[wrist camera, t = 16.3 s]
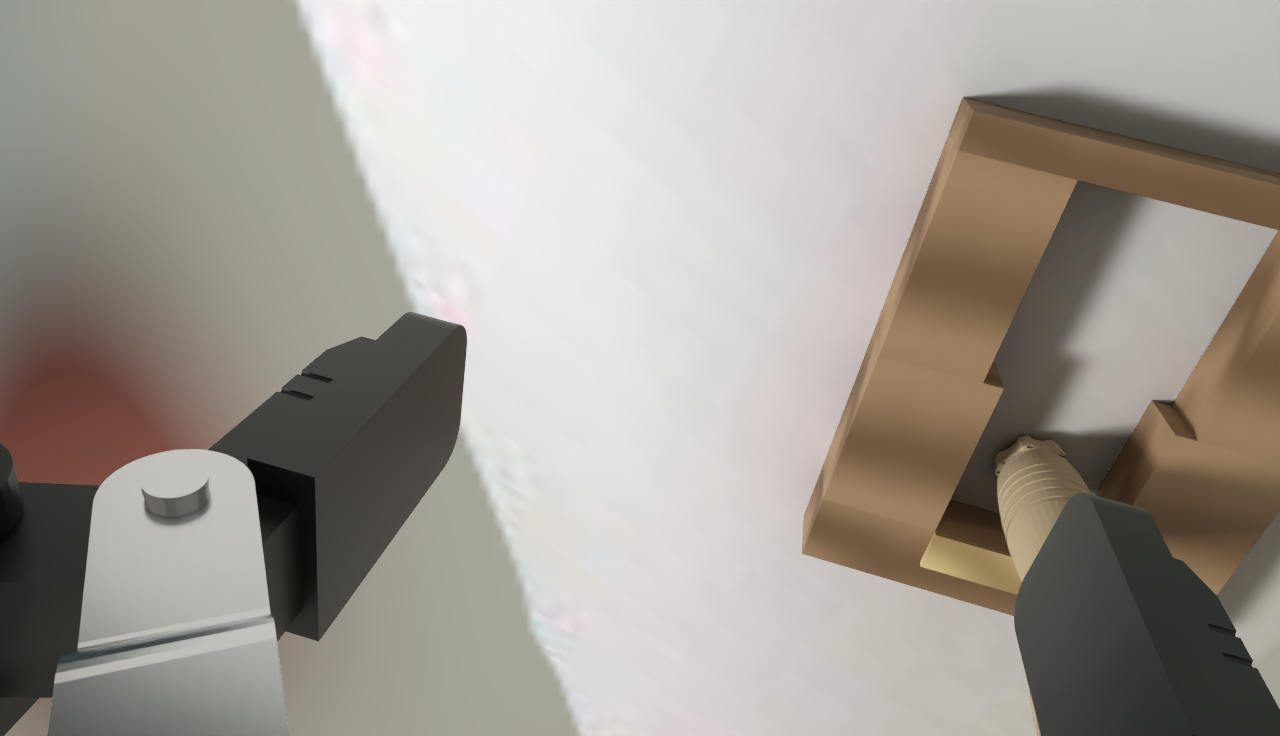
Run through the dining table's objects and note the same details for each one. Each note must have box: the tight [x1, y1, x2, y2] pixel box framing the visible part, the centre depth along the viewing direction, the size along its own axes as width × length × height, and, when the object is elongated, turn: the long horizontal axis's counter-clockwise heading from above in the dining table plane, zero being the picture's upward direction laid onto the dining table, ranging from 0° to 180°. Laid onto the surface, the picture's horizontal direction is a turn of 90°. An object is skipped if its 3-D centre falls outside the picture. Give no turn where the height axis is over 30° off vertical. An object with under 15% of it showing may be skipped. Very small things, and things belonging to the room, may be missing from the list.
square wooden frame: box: [802, 97, 1280, 616], centre depth 37 cm, size 22×18×3 cm
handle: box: [994, 436, 1092, 736], centre depth 34 cm, size 5×6×15 cm
